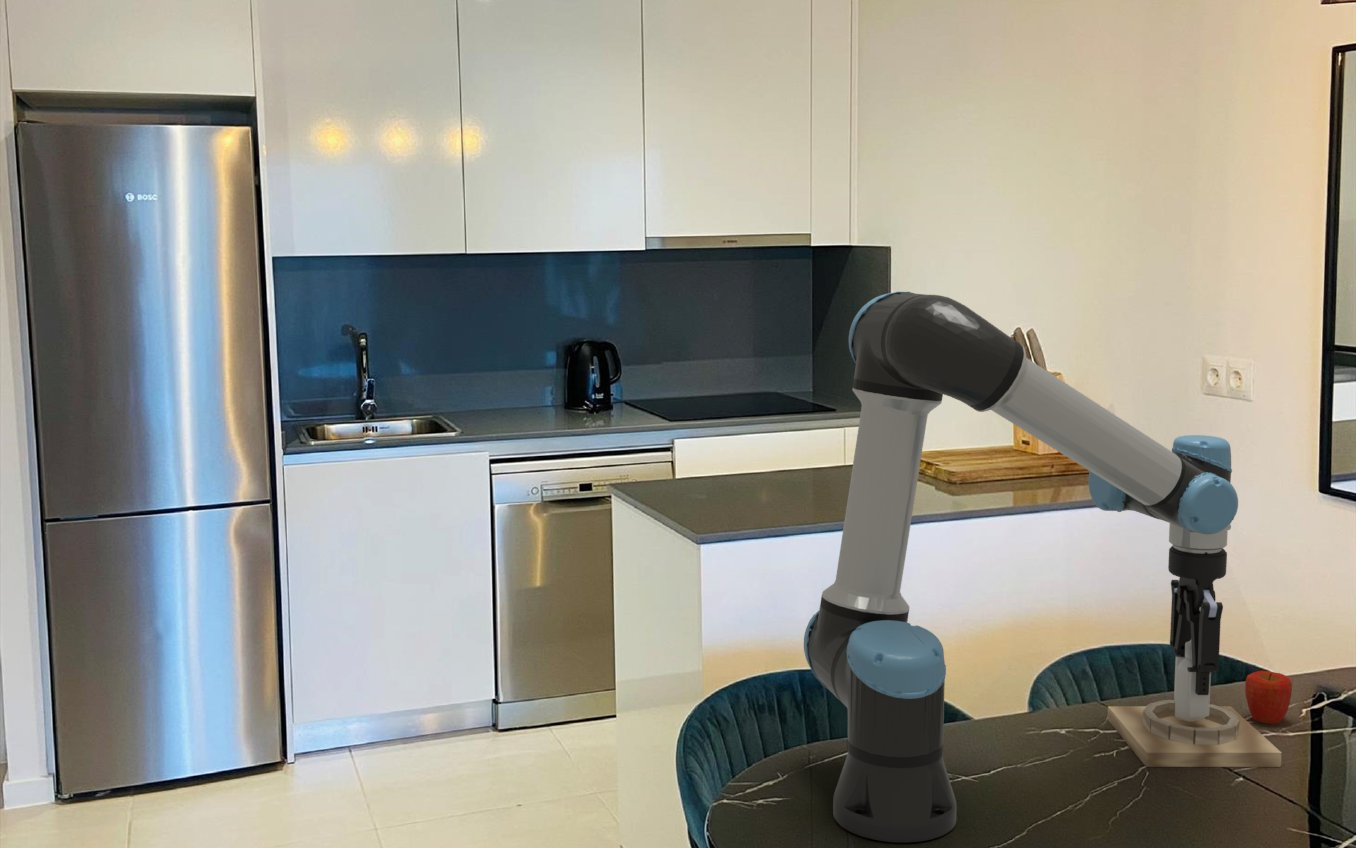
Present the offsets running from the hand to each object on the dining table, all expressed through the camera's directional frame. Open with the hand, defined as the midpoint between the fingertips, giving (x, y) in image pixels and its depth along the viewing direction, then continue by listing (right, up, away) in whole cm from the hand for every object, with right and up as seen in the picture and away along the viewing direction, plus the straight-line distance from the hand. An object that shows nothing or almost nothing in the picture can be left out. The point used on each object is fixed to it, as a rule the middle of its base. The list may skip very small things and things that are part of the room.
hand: (1191, 708), depth 186 cm
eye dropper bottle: (0, -1, 0) cm, 1 cm away
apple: (+14, -4, +8) cm, 17 cm away
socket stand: (0, -5, +1) cm, 5 cm away
